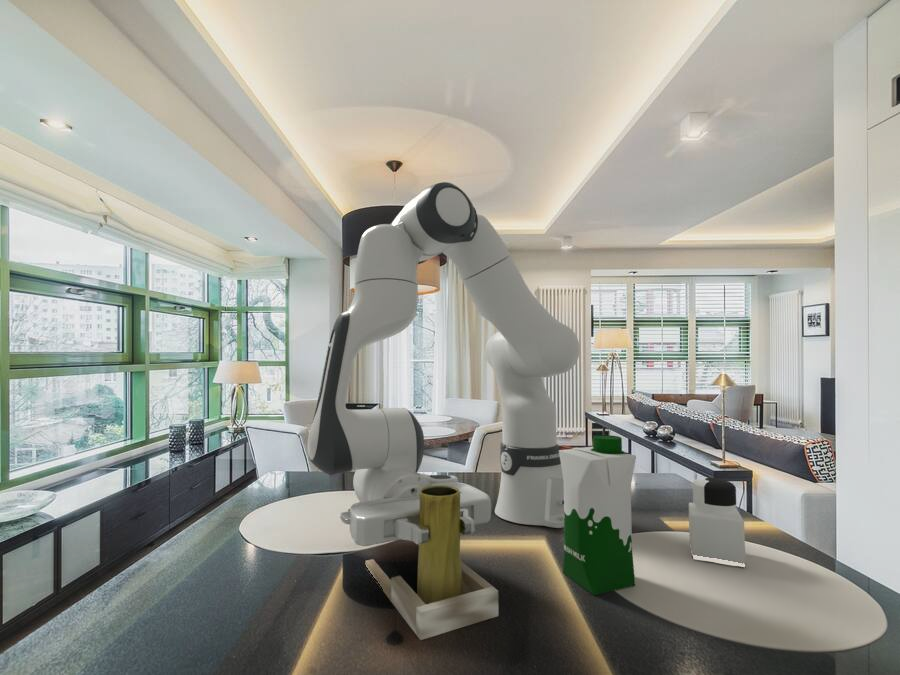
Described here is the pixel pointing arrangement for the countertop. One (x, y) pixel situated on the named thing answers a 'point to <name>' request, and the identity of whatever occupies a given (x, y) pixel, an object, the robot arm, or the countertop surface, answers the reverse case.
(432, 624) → the frame
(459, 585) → the vase
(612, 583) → the milk carton
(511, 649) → the countertop surface
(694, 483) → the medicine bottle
